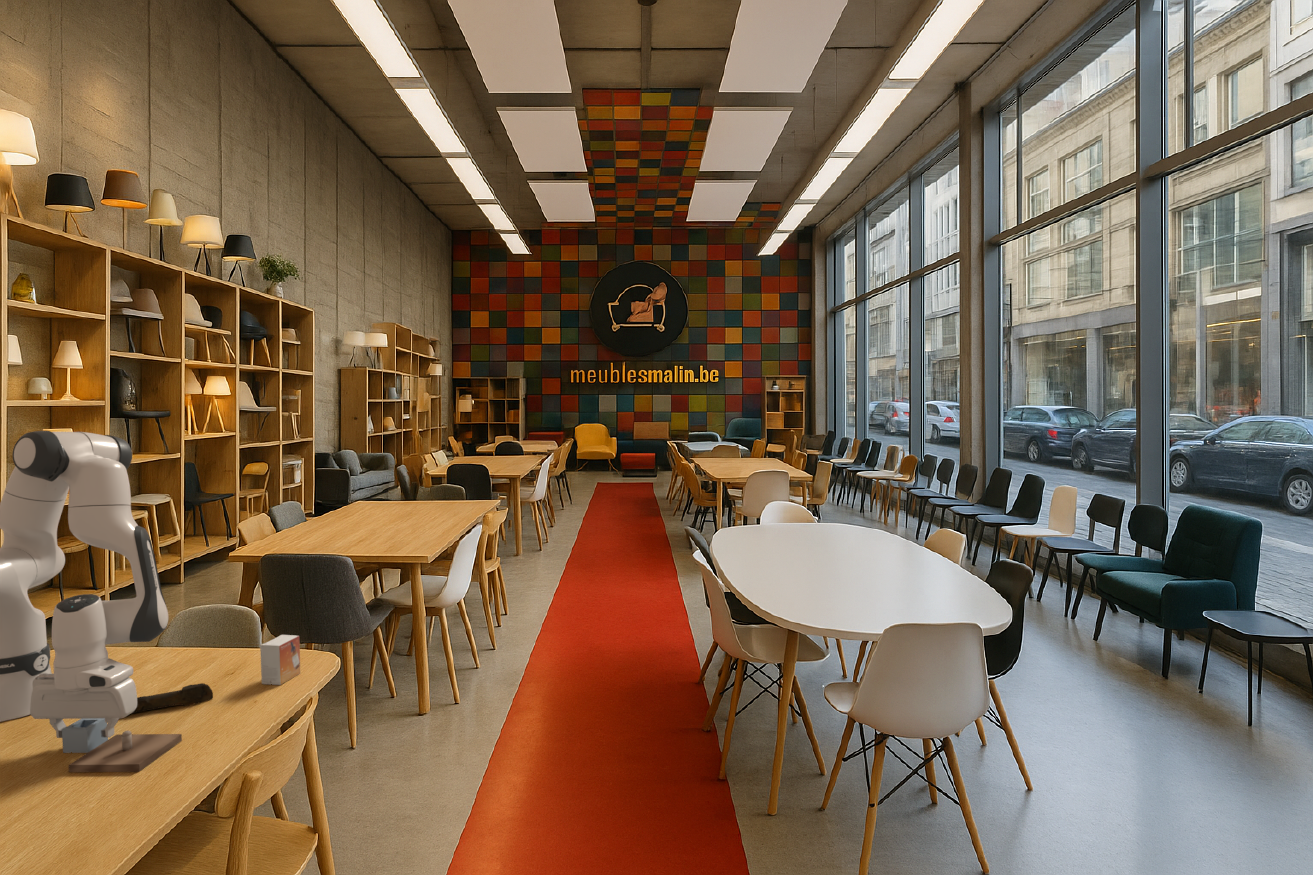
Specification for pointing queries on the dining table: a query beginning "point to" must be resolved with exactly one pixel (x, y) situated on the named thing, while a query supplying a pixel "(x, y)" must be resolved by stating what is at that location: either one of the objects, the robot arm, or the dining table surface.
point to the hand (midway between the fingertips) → (85, 736)
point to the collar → (83, 735)
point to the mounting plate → (125, 753)
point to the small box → (280, 659)
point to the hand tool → (175, 698)
